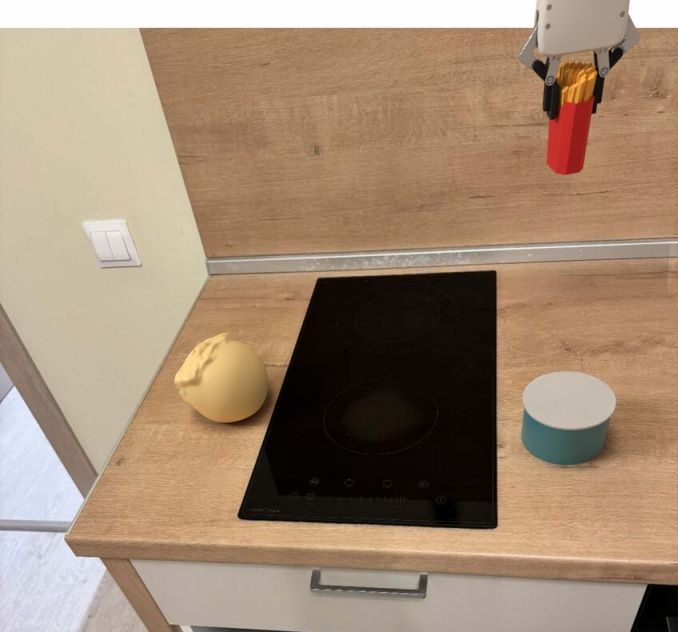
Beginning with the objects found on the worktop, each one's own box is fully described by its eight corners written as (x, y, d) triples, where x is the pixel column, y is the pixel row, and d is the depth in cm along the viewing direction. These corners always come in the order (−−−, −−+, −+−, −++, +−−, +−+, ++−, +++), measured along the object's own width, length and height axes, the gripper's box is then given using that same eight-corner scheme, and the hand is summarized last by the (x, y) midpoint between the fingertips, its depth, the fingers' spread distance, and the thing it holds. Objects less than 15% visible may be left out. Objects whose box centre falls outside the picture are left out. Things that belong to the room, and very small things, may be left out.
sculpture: (217, 378, 96) (196, 318, 89) (286, 387, 92) (270, 325, 85) (180, 426, 89) (153, 365, 82) (252, 438, 85) (231, 376, 78)
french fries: (541, 158, 88) (549, 60, 79) (568, 153, 88) (579, 53, 79) (561, 180, 82) (572, 76, 73) (591, 174, 82) (605, 70, 73)
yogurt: (593, 415, 79) (603, 367, 74) (614, 472, 72) (627, 424, 67) (512, 421, 80) (516, 375, 75) (525, 478, 73) (530, 431, 68)
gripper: (661, -91, 69) (630, 95, 82) (506, -62, 71) (500, 114, 84) (684, -84, 63) (647, 113, 76) (515, -53, 66) (508, 133, 79)
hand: (570, 112), depth 80 cm, fingers closed on french fries, 4 cm apart
